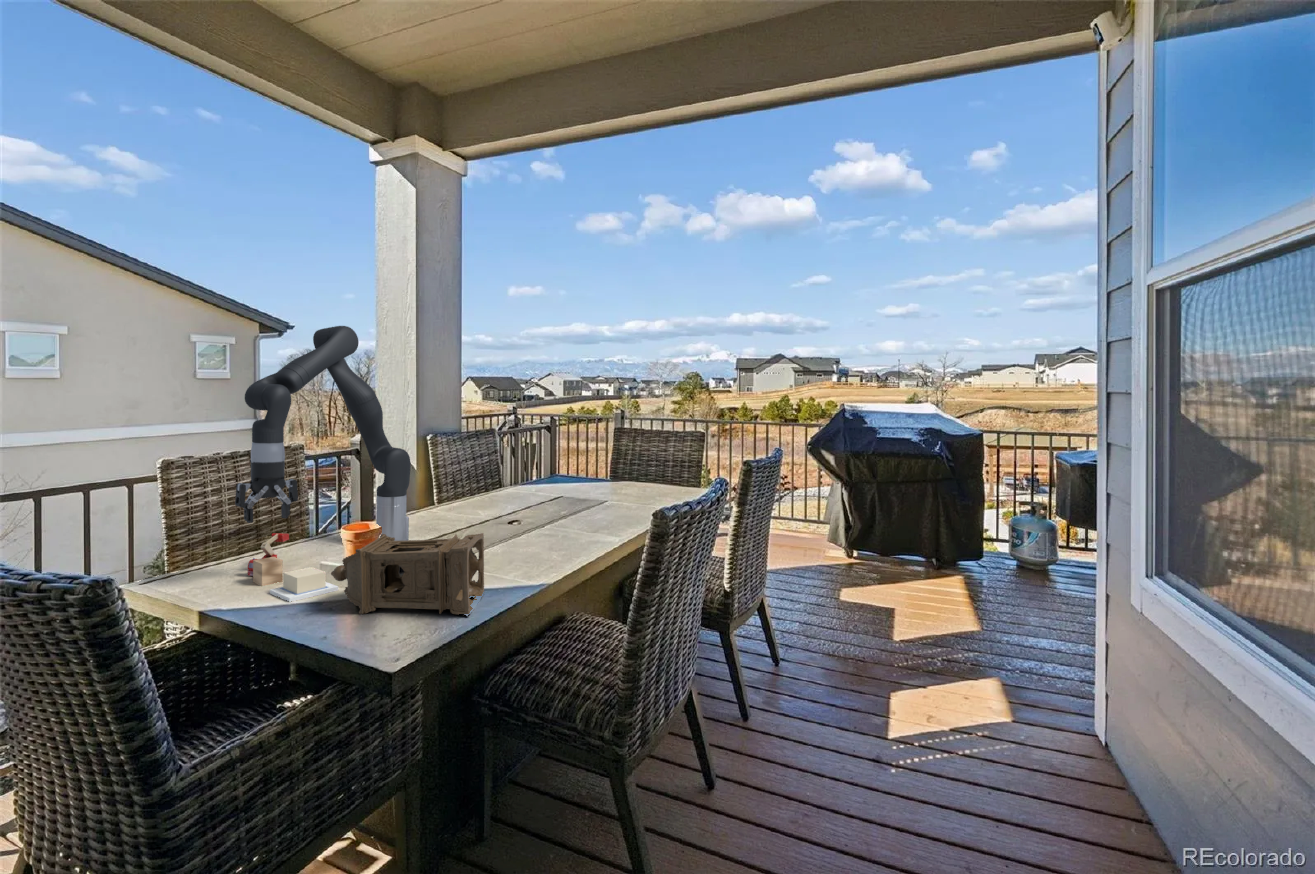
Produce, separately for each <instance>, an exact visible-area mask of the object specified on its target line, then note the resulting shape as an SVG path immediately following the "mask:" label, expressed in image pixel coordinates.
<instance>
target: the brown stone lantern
mask: <svg viewBox="0 0 1315 874" xmlns="http://www.w3.org/2000/svg"><path fill="white" fill-rule="evenodd" d="M484 536H485V535H484V533H483V532H482V533H481V532H480V533H475V534H468V535H465V536H464V537H463V538H458V535H457V534H455V535H454V536H453V537H451V538H450V537H449V538H435V539H413V540H412V539H411V540H406V541H394V540H395V538H394V537H393V538H392V537H389V536H386V534H382V535H381V537H380V538H378V539H377V540H376V539H375V540H373V541H372V542H370V543H368V544H367V545H365V546H362V547H361V548H356V549H355V553H354V554H351V555H348V556H345V558H342V559H341V560H342V564H339V565H337V566H336V567H335V568H334V569H333V570H332V571H331V573H330V575H331V576H332V577H333V579H335V581H337V582H344V581H346V580H347V586H346V587H345V589H344V590H343V593H344V595H345V596H346V597H347V598H348V600H349V603H352V604H353V605H354V606H357V607H358V609H359V611H358V614H359V615H364V614H369V613H370V612H375V611H377V609H378V608H381V609H415V610H416V609H420V610H438V613H439V615H441V614H442V613H443V612H445V611H446V610H449V611H450V614H453V615H459V614H469V613H470V611H471V610H472V609H473V608H472V607H471V606H470V605H471V604H472V603H473V600H477V599H475V598H476V596H482V594H483V592H484V593H485V550H484V549H485V541H484V540H485V537H484ZM474 548H475V549H476V550H477V551H478V557H477V555H476V553H475V552H474V551H473V549H474ZM400 568H401V569H402V571H403V573H402V575H401V573H400V570H401V569H400ZM476 573H478V574H477V575H478V576H477V577H478V578H477V580H474V579H473V578H474V576H475V575H476ZM470 596H475V597H474V599H473V598H472V599H470V598H469V597H470Z"/></svg>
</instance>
